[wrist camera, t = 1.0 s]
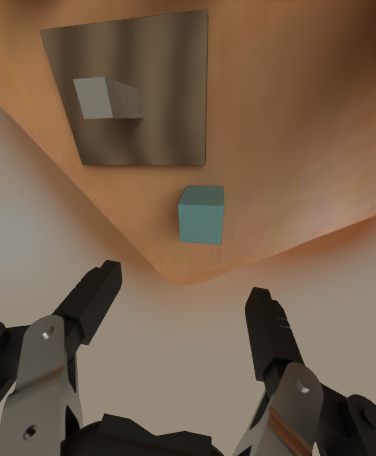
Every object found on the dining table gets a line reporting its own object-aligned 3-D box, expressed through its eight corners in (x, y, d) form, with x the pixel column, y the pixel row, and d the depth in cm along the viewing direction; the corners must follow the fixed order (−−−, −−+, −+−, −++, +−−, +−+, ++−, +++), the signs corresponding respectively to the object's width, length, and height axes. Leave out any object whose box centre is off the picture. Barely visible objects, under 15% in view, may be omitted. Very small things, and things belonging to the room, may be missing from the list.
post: (139, 89, 21) (104, 76, 14) (143, 118, 22) (113, 117, 16) (117, 90, 21) (73, 79, 15) (122, 118, 22) (84, 119, 16)
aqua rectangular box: (223, 186, 26) (224, 206, 20) (220, 218, 29) (221, 244, 23) (187, 185, 27) (177, 204, 21) (188, 217, 30) (180, 241, 24)
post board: (208, 16, 18) (207, 9, 17) (205, 162, 25) (204, 165, 24) (50, 35, 21) (39, 29, 19) (89, 162, 28) (82, 165, 27)
